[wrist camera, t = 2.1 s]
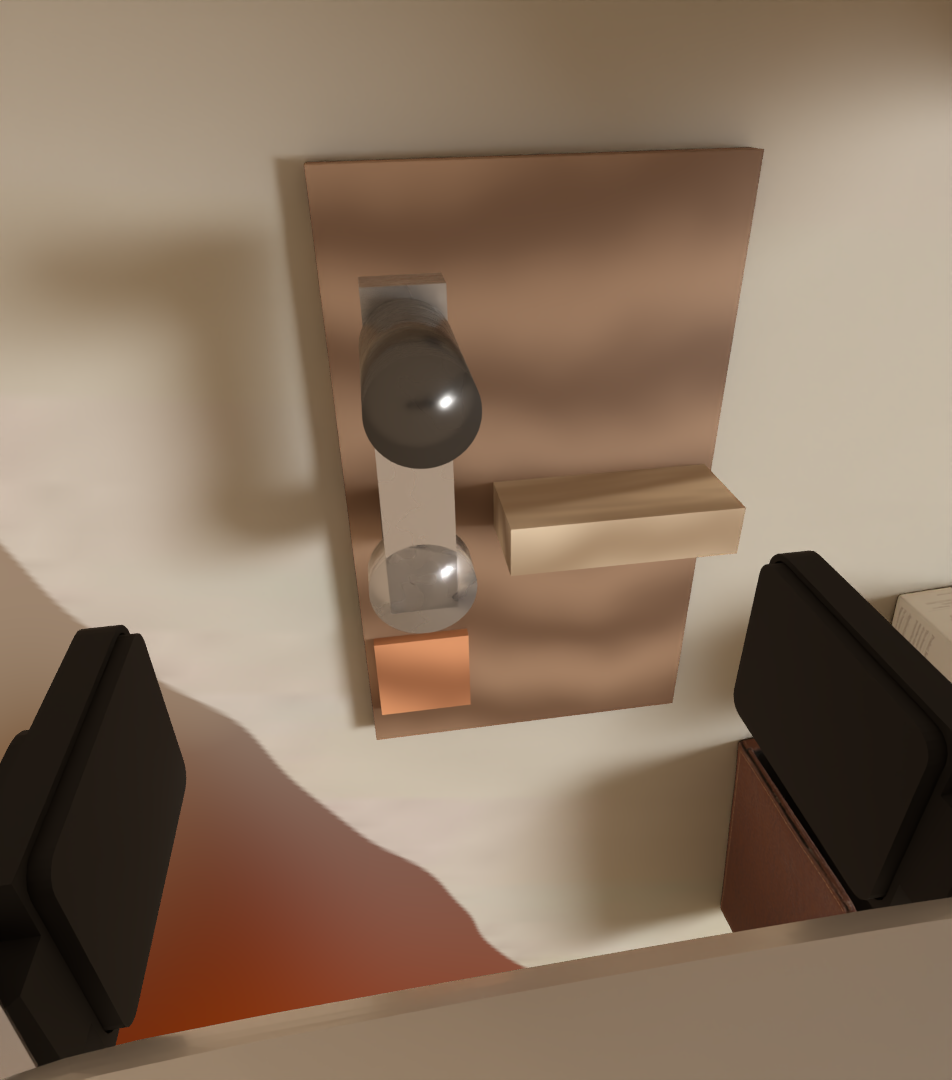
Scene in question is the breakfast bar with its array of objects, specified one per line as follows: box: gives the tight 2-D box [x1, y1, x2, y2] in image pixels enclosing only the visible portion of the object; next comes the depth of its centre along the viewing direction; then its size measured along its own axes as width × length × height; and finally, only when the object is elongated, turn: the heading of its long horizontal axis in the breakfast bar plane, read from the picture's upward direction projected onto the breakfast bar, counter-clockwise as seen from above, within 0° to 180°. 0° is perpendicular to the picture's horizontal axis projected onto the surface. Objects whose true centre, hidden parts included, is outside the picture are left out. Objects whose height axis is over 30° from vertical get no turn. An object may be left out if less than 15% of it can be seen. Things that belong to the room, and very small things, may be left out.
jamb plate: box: [304, 147, 764, 740], centre depth 35 cm, size 30×18×6 cm, turn 1°
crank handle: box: [358, 273, 482, 633], centre depth 25 cm, size 14×4×8 cm, turn 1°
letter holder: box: [721, 738, 873, 932], centre depth 50 cm, size 10×20×14 cm, turn 7°
